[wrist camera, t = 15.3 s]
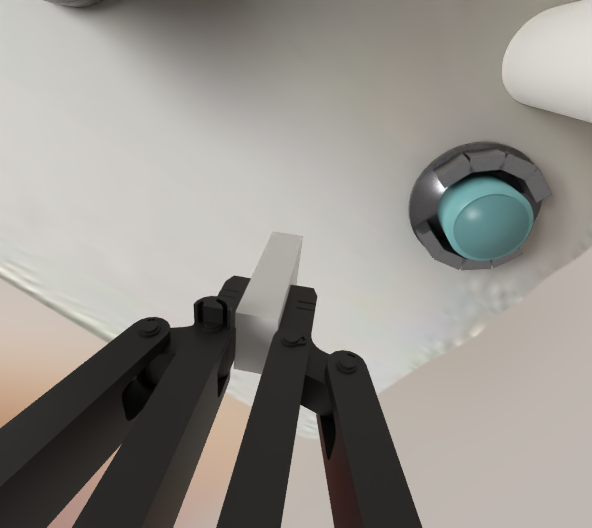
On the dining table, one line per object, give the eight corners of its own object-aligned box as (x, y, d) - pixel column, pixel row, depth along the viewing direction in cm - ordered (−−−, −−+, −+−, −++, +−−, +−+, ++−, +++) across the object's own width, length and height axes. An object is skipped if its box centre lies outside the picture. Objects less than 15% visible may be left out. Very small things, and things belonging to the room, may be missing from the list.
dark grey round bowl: (428, 133, 39) (435, 140, 35) (562, 151, 38) (583, 161, 34) (395, 246, 46) (399, 262, 42) (507, 264, 45) (520, 282, 41)
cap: (446, 170, 39) (459, 187, 34) (523, 175, 38) (549, 193, 33) (430, 235, 43) (440, 259, 38) (499, 241, 42) (519, 267, 37)
